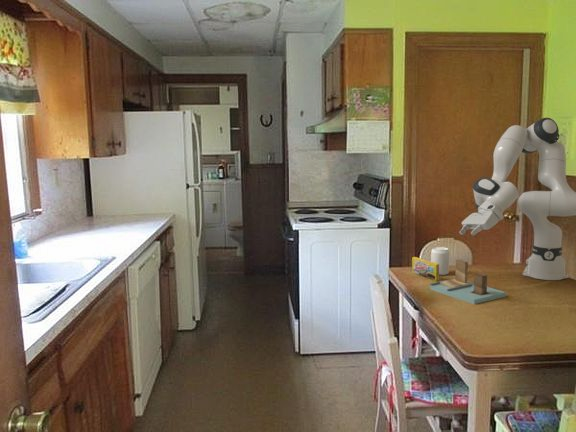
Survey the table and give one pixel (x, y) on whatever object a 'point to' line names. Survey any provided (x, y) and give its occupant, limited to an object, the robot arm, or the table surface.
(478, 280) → the walnut block
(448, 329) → the table surface
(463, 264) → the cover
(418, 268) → the candy box
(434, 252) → the beverage can
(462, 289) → the puzzle board
